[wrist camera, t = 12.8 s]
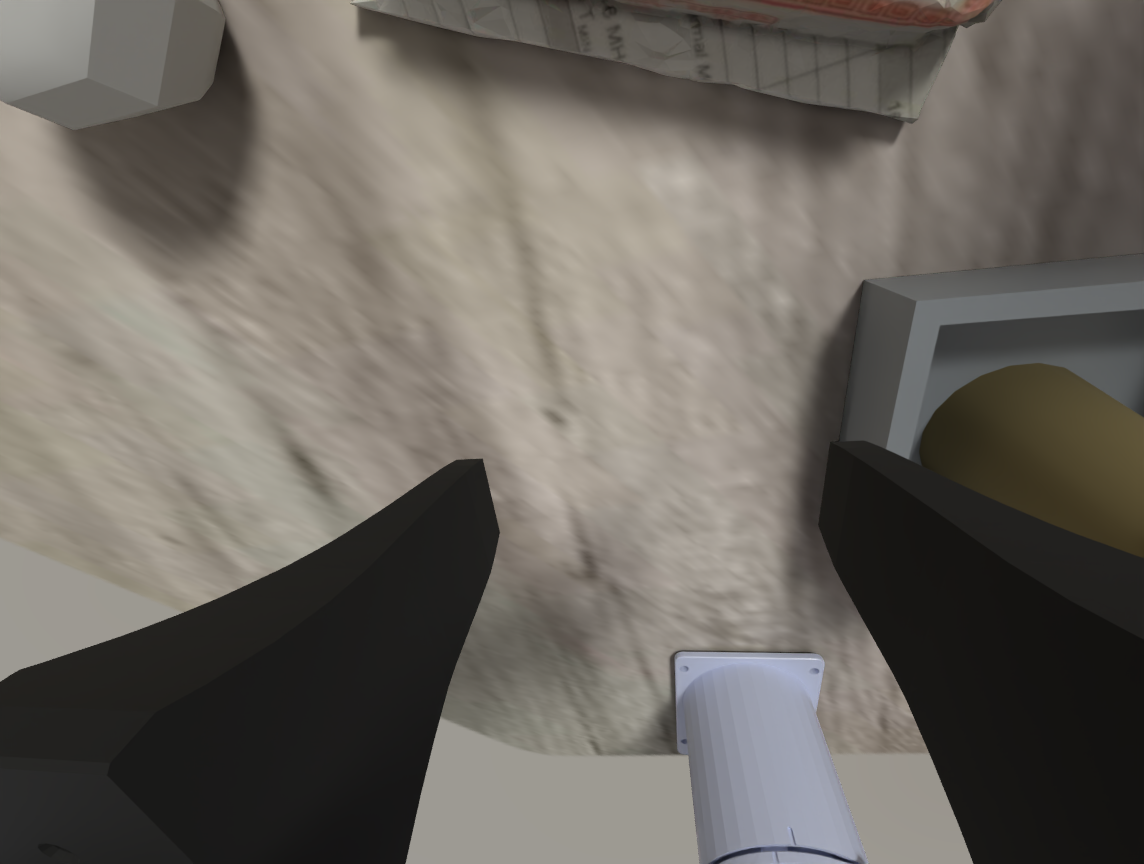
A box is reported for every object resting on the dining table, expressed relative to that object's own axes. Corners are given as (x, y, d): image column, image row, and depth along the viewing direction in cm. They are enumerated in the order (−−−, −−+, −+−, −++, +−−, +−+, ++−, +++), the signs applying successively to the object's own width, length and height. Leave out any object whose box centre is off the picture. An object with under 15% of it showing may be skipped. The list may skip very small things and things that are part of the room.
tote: (1107, 525, 21) (1193, 587, 18) (824, 531, 22) (857, 588, 19) (1245, 243, 16) (1403, 258, 12) (863, 280, 17) (916, 301, 14)
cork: (887, 471, 20) (1130, 739, 10) (991, 340, 17) (1461, 539, 7) (1014, 516, 20) (1366, 818, 11) (1138, 394, 17) (1772, 655, 8)
